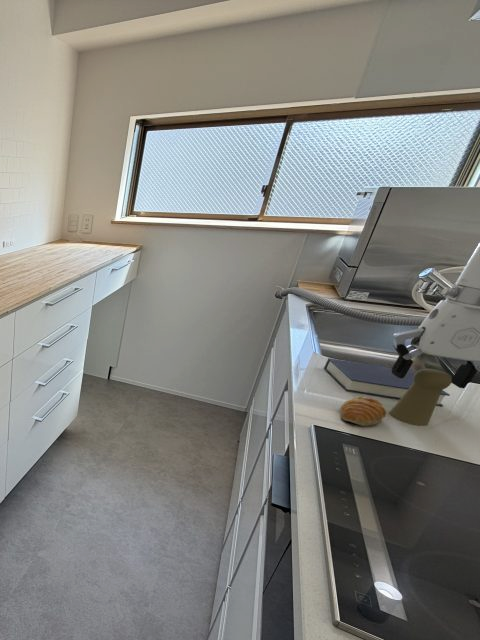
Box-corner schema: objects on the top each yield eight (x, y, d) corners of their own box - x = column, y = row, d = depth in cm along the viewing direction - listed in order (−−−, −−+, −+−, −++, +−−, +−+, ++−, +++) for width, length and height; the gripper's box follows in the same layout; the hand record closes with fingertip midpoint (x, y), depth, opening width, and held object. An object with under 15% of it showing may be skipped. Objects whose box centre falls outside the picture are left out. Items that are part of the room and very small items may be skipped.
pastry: (372, 433, 81) (381, 416, 79) (330, 418, 86) (338, 402, 84) (383, 419, 86) (393, 403, 84) (343, 406, 91) (351, 390, 89)
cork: (382, 413, 89) (409, 366, 84) (399, 408, 91) (426, 363, 86) (418, 427, 84) (448, 379, 79) (434, 423, 86) (465, 375, 81)
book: (407, 381, 105) (413, 370, 103) (442, 406, 93) (450, 394, 91) (323, 368, 110) (328, 358, 109) (346, 390, 98) (352, 379, 97)
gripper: (431, 295, 75) (383, 379, 83) (559, 310, 70) (495, 397, 78) (408, 287, 81) (366, 365, 89) (524, 299, 76) (468, 381, 84)
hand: (426, 380), depth 84 cm, fingers open, 9 cm apart
